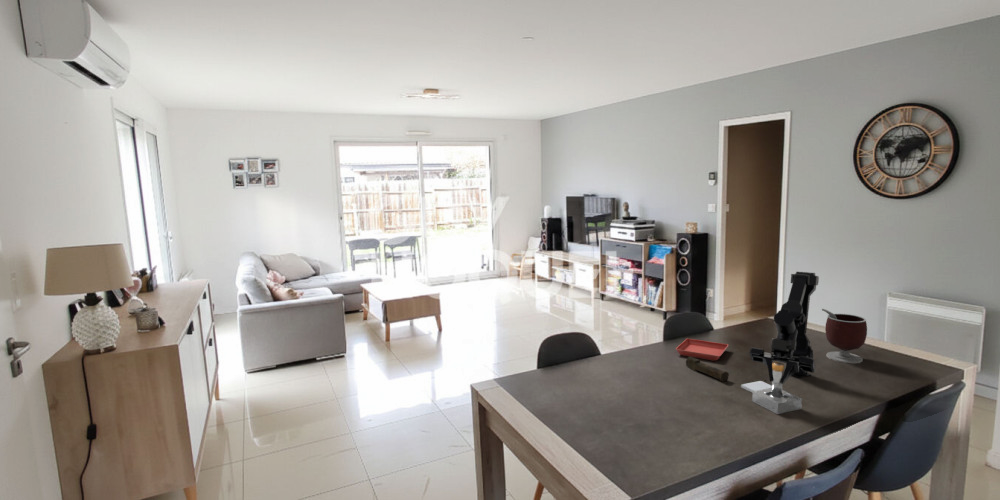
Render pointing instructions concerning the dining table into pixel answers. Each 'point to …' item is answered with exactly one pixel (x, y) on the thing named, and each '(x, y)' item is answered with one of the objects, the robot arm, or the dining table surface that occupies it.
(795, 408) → the block
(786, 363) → the robot arm
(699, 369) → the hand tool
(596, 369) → the dining table surface
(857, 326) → the mate gourd
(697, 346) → the plant saucer
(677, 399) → the dining table surface
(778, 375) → the silver metal peg
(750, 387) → the rubber mat
